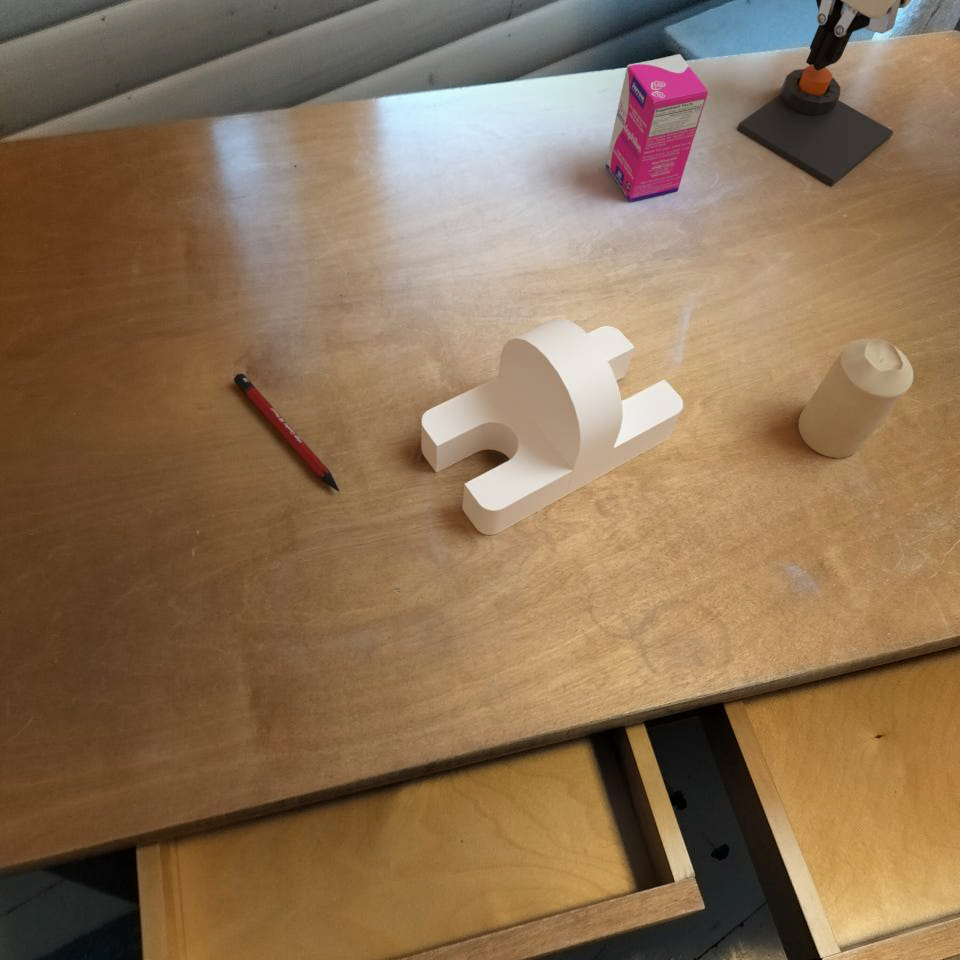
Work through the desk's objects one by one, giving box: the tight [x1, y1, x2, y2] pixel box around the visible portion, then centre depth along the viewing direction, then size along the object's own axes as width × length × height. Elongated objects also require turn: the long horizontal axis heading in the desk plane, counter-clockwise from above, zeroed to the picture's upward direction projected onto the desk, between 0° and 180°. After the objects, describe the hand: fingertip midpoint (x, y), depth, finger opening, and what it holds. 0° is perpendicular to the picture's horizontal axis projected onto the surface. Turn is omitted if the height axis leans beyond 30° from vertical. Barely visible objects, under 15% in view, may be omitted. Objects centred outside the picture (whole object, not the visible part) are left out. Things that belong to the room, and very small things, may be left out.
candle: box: [797, 338, 915, 459], centre depth 67 cm, size 6×6×10 cm
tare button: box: [799, 65, 833, 96], centre depth 92 cm, size 3×3×2 cm
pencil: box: [233, 373, 341, 493], centre depth 67 cm, size 1×14×1 cm, turn 40°
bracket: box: [420, 317, 684, 536], centre depth 64 cm, size 19×10×11 cm, turn 123°
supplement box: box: [605, 53, 709, 203], centre depth 81 cm, size 6×6×12 cm
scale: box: [736, 68, 894, 188], centre depth 91 cm, size 12×12×2 cm
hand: (820, 62), depth 90 cm, fingers closed
